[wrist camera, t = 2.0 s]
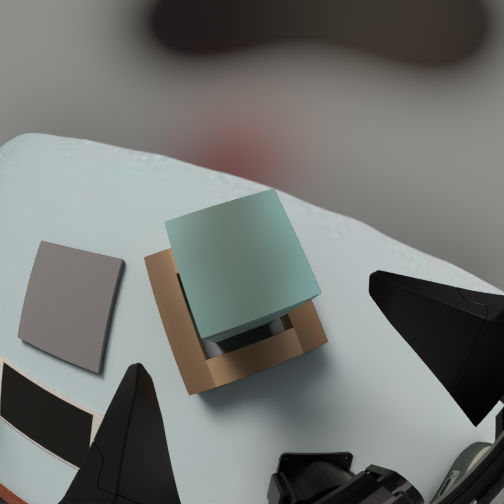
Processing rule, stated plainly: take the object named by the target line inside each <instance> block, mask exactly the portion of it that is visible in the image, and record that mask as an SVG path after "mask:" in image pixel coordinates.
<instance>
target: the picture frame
mask: <svg viewBox="0 0 504 504" xmlns="http://www.w3.org/2000/svg"><path fill="white" fill-rule="evenodd" d="M0 504H28V503H26V502H25V501H23V500H22V499H20V498H19V497H17V496H16V495H15V494H13V493H12V492H11V491H9V490H8V489H7V488H5V487H4V486H3V485H2V484H0Z"/></svg>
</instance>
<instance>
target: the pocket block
mask: <svg viewBox="0 0 504 504" xmlns="http://www.w3.org/2000/svg"><path fill="white" fill-rule="evenodd" d="M144 259H145V263H146V267H147V271H148V275H149V278H150V282H151V286H152V289H153V293H154V296H155V300H156V303H157V306H158V309H159V313H160V316H161V319H162V322H163V325H164V328H165V331H166V334H167V337H168V340H169V343H170V346H171V349H172V352H173V355H174V357H175V360H176V363H177V365H178V368H179V371H180V373H181V376H182V379H183V381H184V384H185V386H186V389H187V391H188V394H189V395H193V394H196V393H199V392H202V391H206V390H209V389H212V388H215V387H218V386H221V385H224V384H227V383H230V382H233V381H235V380H238V379H241V378H244V377H247V376H249V375H252V374H255V373H257V372H260V371H262V370H265V369H267V368H270V367H273V366H275V365H277V364H280V363H282V362H285V361H287V360H289V359H292V358H294V357H296V356H299V355H301V354H303V353H306V352H308V351H310V350H312V349H314V348H317V347H319V346H321V345H323V344H325V343H327V342H328V340H327V337H326V335H325V332H324V330H323V327H322V325H321V322H320V320H319V317H318V315H317V313H316V310H315V308H314V305H313V303H312V300H309V301H308V302H306V303H304V304H302V305H301V306H299V307H297V308H296V309H294V310H292V311H290V312H289V313H287V314H285V315H283V316H282V317H280V319H281V321H282V324H283V326H284V329H285V330H284V331H282V332H279V333H277V334H274V335H272V336H269V337H267V338H264V339H262V340H259V341H256V342H254V343H251V344H248V345H246V346H243V347H240V348H238V349H235V350H232V351H229V352H226V353H223V354H221V355H218V356H215V357H212V358H208V355H207V353H206V350H205V347H204V345H203V342H202V339H201V337H200V334H199V331H198V328H197V325H196V323H195V320H194V317H193V314H192V311H191V308H190V305H189V302H188V299H187V296H186V293H185V290H184V287H183V284H182V280H181V277H180V274H179V271H178V268H177V264H176V261H175V258H174V254H173V251H172V248H170V249H167V250H164V251H161V252H158V253H155V254H152V255H149V256H146V257H144Z"/></svg>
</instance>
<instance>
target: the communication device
mask: <svg viewBox="0 0 504 504" xmlns="http://www.w3.org/2000/svg"><path fill="white" fill-rule="evenodd" d="M491 446H492V444H491V443H485V442H476V443H473V444H472V445H470V446H469V447H468V448H466V449H465V450H464V451H463V452H462V453H461V454H460V455H459V457H458V458H457V459H456V461H455V462H454V464H453V465H452V467H451V469H450V471H449V472H448V474H447V476H446V478H445V480H444V481H443V483H442V485H441V487H440V488H439V490H438V492H437V493H436V495H435V497H434V498H433V500H432V501H431V503H433V502H434V501H435V500H436V499H438V498H439V497H440V496H441V495H442V494H444V493H445V492H446V491H447V490H448V489H449V488H450V487H452V486H453V485H454V484H455V483H456V482H457V481H458V480H459V479H460V478H461V477H462V476H463V475H464V474H465V473H466V472H467V471H468V470H469V469H470V468H471V467H472V466H473V465H474V464H475V463H476V462H477V461H478V460H479V459H480V458H481V457H482V456H483V455H484V454H485V452H486V451H487V450H488V449H489V448H490V447H491ZM475 502H476V500H475V499H474V500H473V501H472V502H471V503H470V504H475ZM431 503H430V504H431Z"/></svg>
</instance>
